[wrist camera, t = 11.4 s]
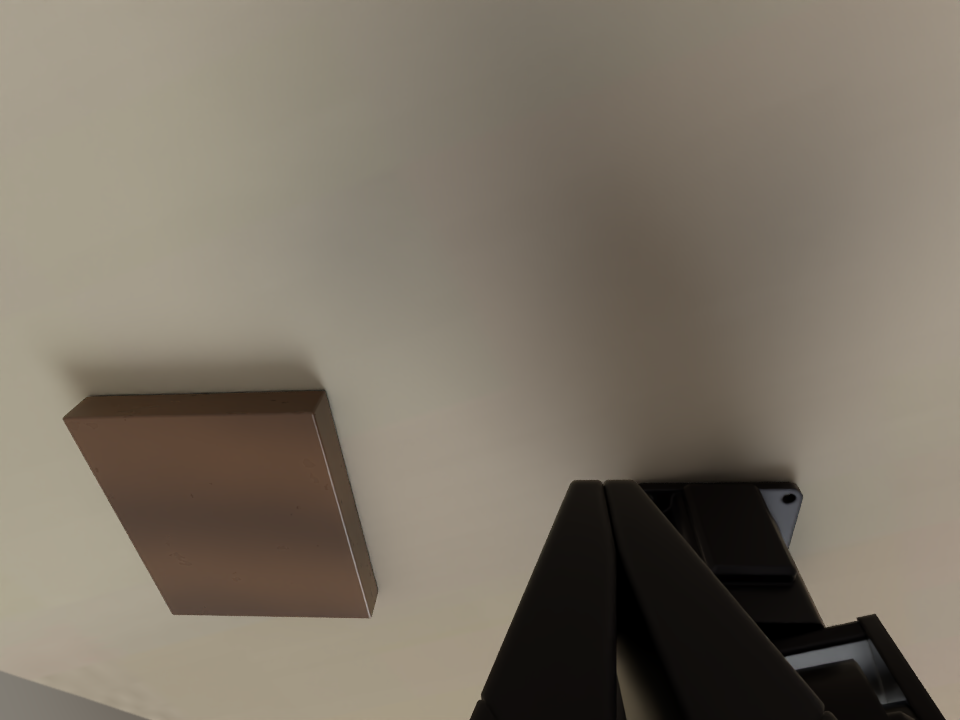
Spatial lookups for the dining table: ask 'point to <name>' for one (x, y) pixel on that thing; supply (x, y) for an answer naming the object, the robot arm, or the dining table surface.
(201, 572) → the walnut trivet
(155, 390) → the dining table surface
